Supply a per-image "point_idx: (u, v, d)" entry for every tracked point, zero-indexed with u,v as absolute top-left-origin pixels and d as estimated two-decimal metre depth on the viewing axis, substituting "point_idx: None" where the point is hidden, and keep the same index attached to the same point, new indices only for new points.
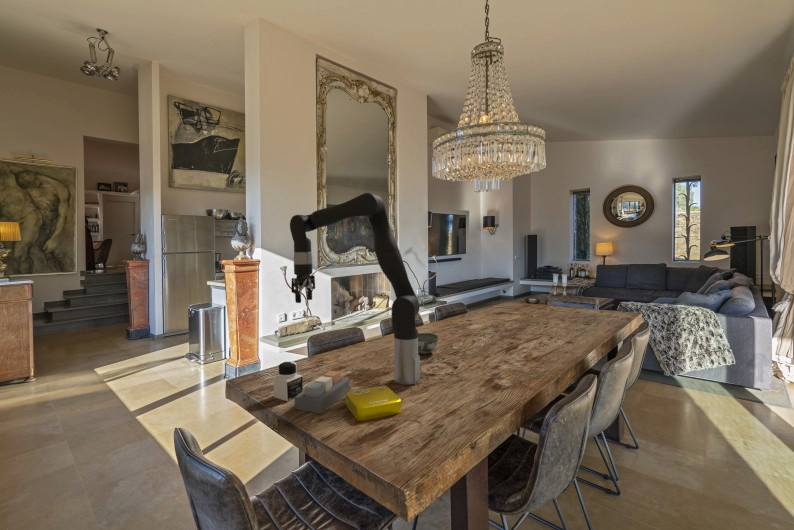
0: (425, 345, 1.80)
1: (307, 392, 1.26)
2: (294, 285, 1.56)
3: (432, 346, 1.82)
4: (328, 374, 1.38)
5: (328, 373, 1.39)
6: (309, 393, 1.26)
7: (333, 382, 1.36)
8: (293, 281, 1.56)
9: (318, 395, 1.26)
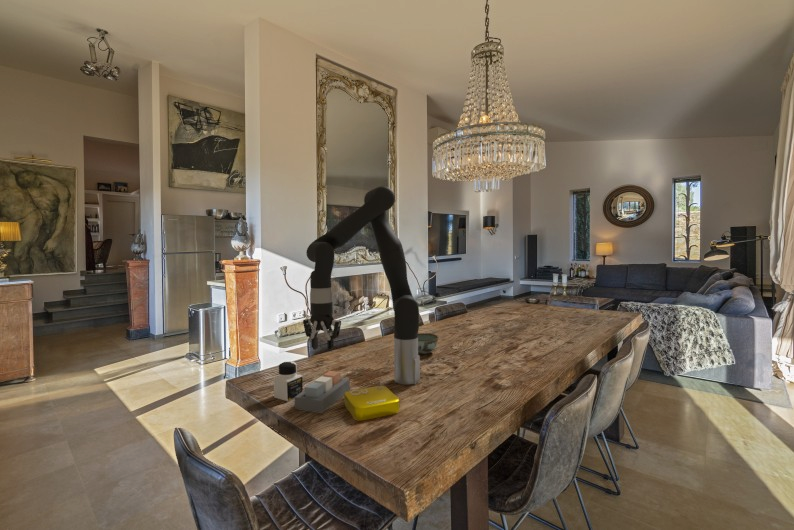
0: (425, 345, 1.80)
1: (307, 392, 1.26)
2: (338, 329, 1.30)
3: (432, 346, 1.82)
4: (328, 374, 1.38)
5: (328, 373, 1.39)
6: (309, 393, 1.26)
7: (333, 382, 1.36)
8: (338, 326, 1.29)
9: (318, 395, 1.26)
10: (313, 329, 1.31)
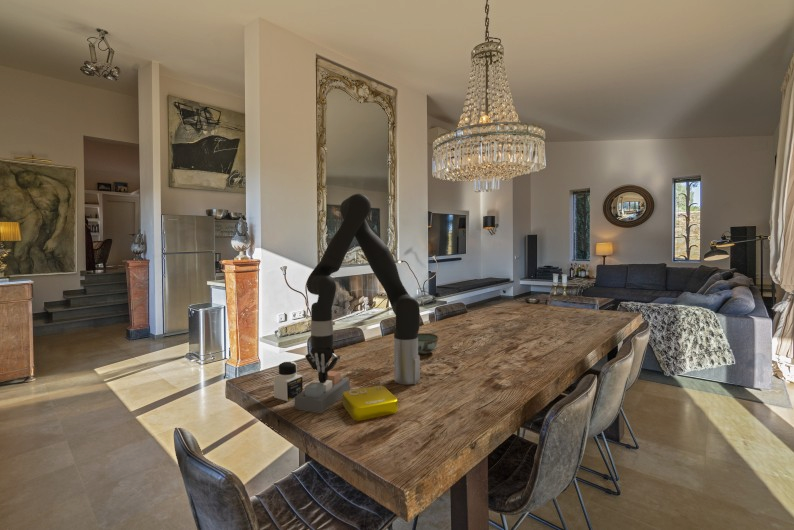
0: (425, 345, 1.80)
1: (307, 392, 1.26)
2: (334, 364, 1.32)
3: (432, 346, 1.82)
4: (328, 374, 1.38)
5: (328, 373, 1.39)
6: (309, 393, 1.26)
7: (333, 382, 1.36)
8: (336, 361, 1.31)
9: (318, 395, 1.26)
10: (316, 361, 1.32)
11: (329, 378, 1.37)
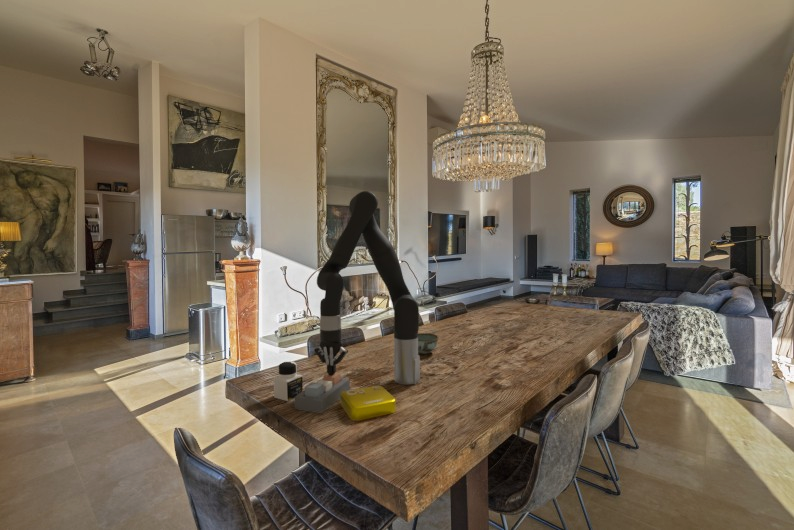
0: (425, 345, 1.80)
1: (307, 392, 1.26)
2: (342, 357, 1.37)
3: (432, 346, 1.82)
4: (328, 375, 1.38)
5: None
6: (309, 393, 1.26)
7: (333, 383, 1.36)
8: (344, 355, 1.36)
9: (318, 395, 1.26)
10: (325, 355, 1.37)
11: (329, 379, 1.37)
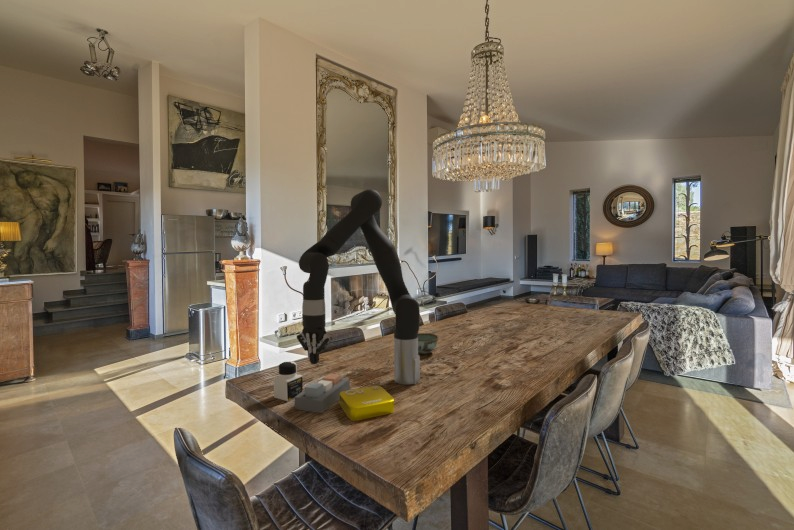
0: (425, 345, 1.80)
1: (307, 392, 1.26)
2: (326, 345, 1.28)
3: (432, 346, 1.82)
4: (328, 377, 1.38)
5: (328, 376, 1.39)
6: (309, 393, 1.26)
7: None
8: (327, 342, 1.27)
9: (318, 395, 1.26)
10: (308, 342, 1.28)
11: None
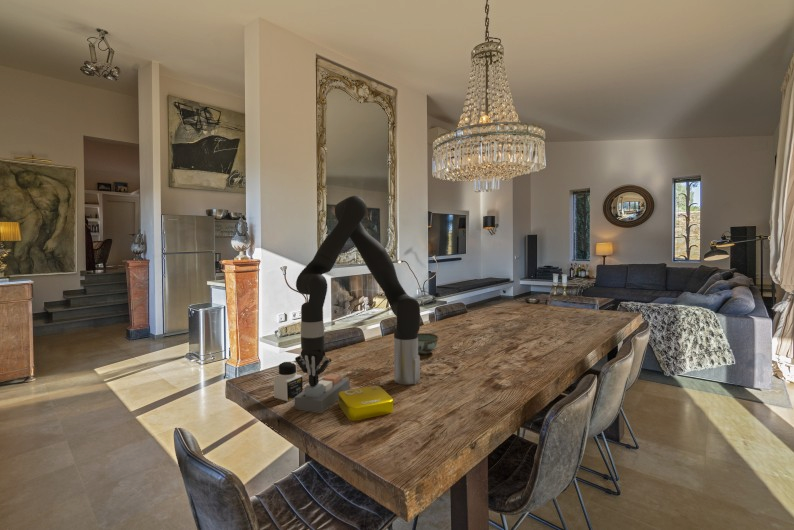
0: (425, 345, 1.80)
1: (307, 392, 1.26)
2: (325, 367, 1.26)
3: (432, 346, 1.82)
4: (328, 377, 1.38)
5: (328, 376, 1.39)
6: (309, 393, 1.26)
7: None
8: (327, 364, 1.25)
9: (318, 395, 1.26)
10: (307, 364, 1.26)
11: None
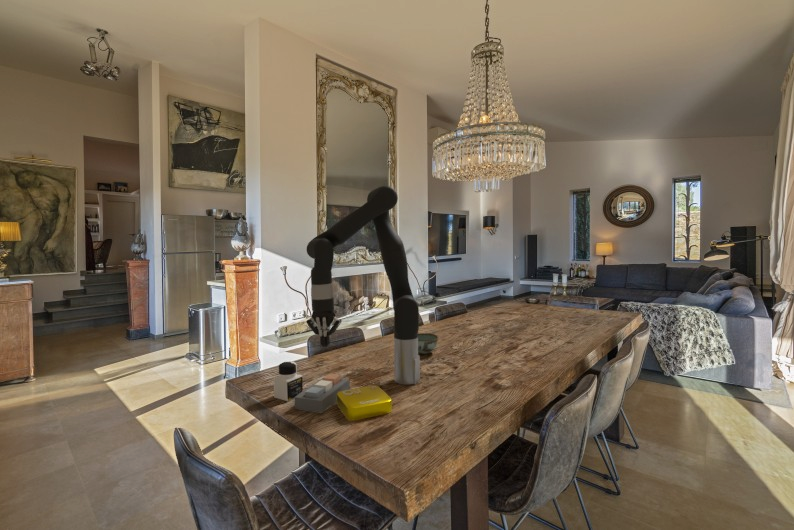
0: (425, 345, 1.80)
1: None
2: (336, 327, 1.32)
3: (432, 346, 1.82)
4: (328, 377, 1.38)
5: (328, 376, 1.39)
6: None
7: None
8: (337, 324, 1.31)
9: None
10: (318, 326, 1.32)
11: None
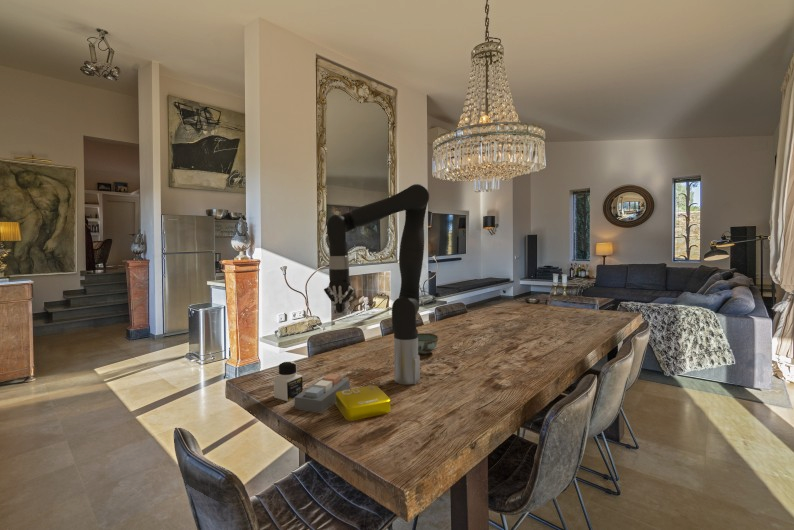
0: (425, 345, 1.80)
1: None
2: (350, 296, 1.47)
3: (432, 346, 1.82)
4: (328, 377, 1.38)
5: (328, 376, 1.39)
6: None
7: None
8: (351, 293, 1.46)
9: None
10: (334, 293, 1.47)
11: None
